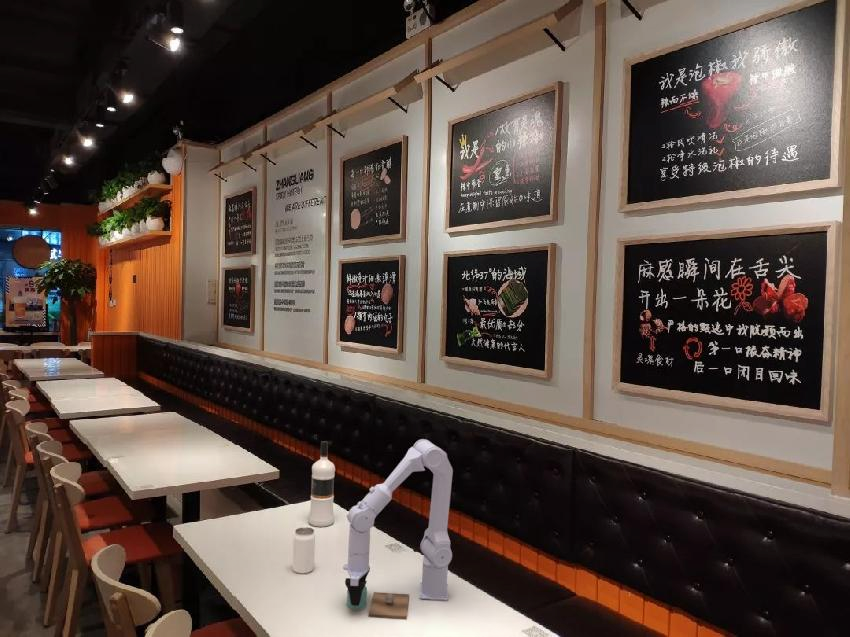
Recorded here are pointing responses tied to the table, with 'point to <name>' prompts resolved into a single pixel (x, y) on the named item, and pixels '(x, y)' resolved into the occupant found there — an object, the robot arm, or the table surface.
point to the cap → (362, 601)
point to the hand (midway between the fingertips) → (356, 599)
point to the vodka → (322, 490)
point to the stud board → (389, 605)
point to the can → (303, 550)
